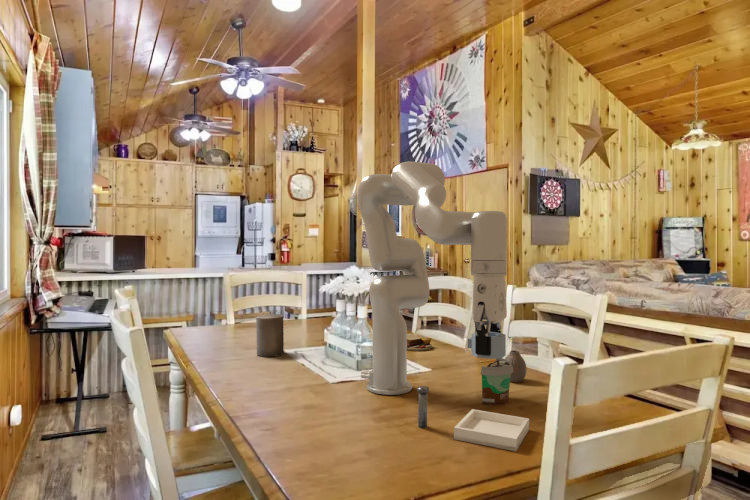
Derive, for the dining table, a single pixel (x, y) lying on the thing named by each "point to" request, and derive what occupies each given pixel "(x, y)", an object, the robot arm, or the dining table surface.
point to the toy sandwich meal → (417, 343)
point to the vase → (517, 366)
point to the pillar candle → (269, 335)
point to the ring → (496, 345)
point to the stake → (422, 406)
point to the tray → (492, 429)
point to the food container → (496, 382)
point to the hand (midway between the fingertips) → (488, 350)
